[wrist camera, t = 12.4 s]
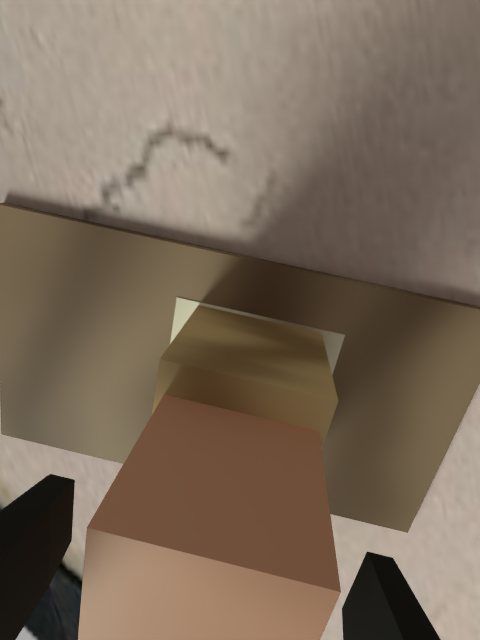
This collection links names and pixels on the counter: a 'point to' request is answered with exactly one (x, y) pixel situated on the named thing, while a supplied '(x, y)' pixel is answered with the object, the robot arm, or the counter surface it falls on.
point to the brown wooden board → (237, 297)
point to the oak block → (250, 369)
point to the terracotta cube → (212, 533)
